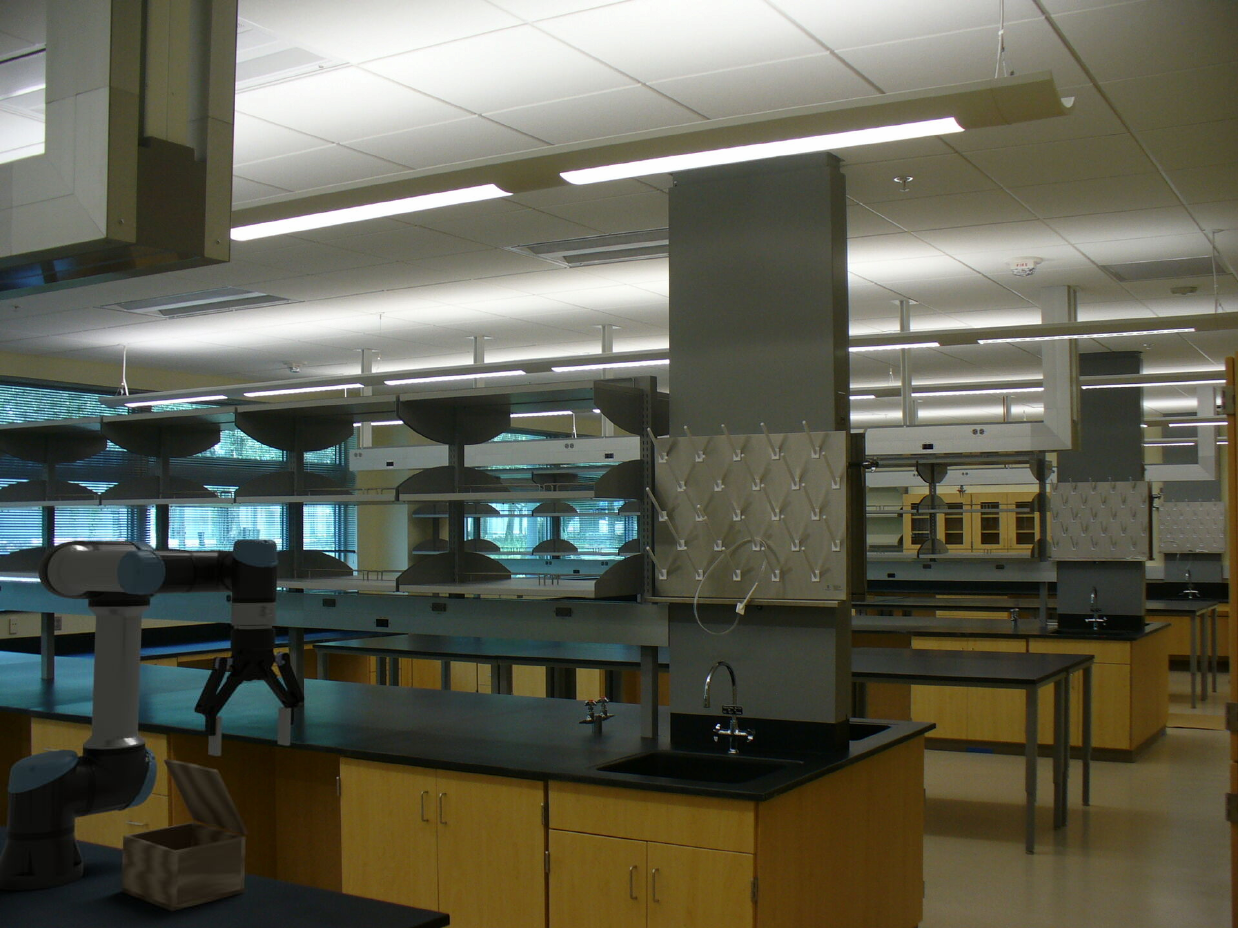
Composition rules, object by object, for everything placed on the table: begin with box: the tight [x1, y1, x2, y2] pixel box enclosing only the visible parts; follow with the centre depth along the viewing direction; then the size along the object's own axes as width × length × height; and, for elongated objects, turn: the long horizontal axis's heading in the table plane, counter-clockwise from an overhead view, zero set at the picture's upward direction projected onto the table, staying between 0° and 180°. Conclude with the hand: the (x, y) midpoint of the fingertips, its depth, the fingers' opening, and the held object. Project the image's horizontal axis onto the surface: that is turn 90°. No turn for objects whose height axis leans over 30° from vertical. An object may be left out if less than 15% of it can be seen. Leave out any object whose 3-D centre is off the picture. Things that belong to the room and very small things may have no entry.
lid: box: [163, 758, 249, 836], centre depth 211 cm, size 18×14×1 cm
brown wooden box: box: [120, 821, 246, 912], centre depth 207 cm, size 18×14×10 cm
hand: (250, 749), depth 196 cm, fingers open, 13 cm apart
